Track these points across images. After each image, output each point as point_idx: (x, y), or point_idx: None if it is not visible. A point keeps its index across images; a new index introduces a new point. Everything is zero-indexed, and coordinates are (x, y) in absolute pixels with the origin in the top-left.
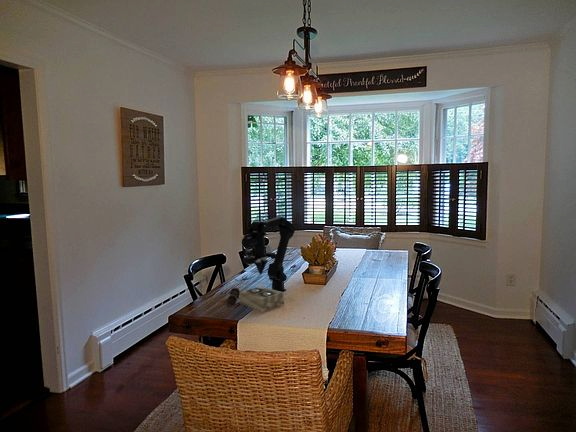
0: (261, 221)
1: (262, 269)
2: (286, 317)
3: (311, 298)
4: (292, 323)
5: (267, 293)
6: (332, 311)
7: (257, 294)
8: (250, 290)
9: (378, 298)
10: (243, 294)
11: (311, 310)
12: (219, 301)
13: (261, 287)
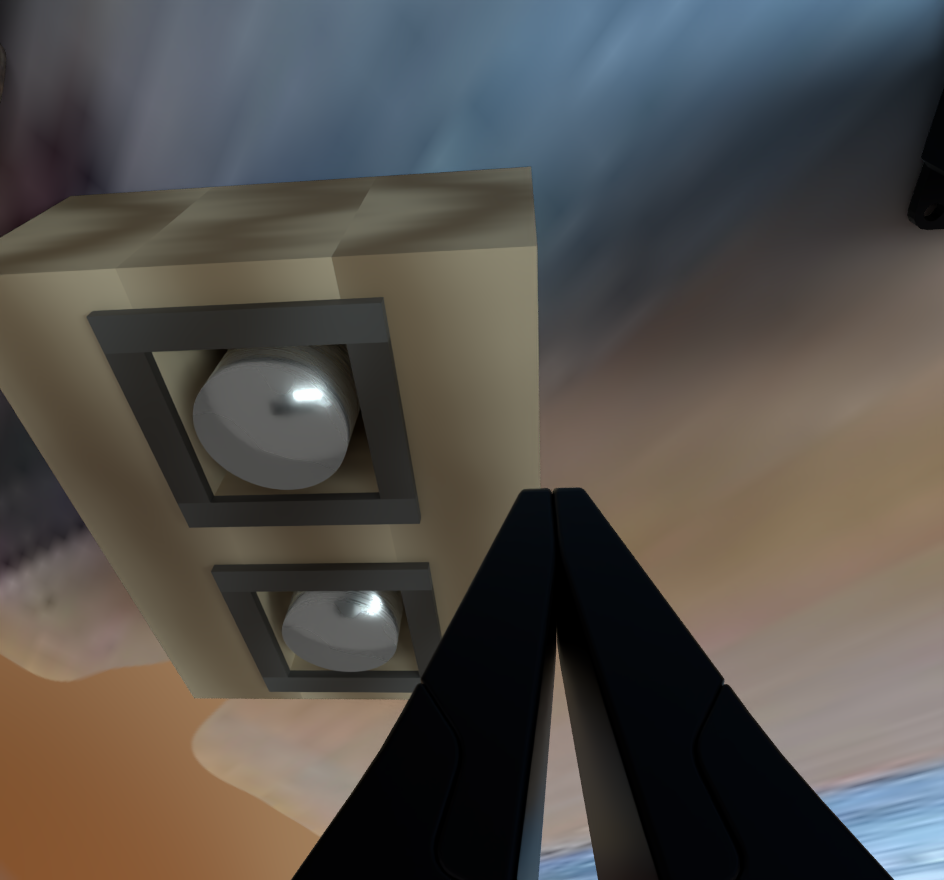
0: None
1: (579, 741)
2: (338, 737)
3: (855, 641)
4: (310, 791)
5: (342, 646)
6: None
7: (217, 571)
8: (197, 343)
9: None
10: (17, 389)
11: (569, 761)
12: None
13: (494, 344)
